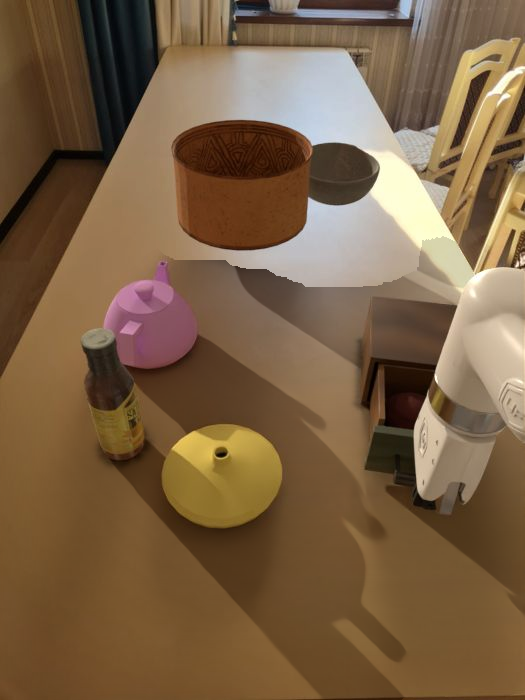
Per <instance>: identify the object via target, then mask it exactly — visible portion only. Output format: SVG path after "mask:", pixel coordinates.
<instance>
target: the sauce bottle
mask: <svg viewBox="0 0 525 700" xmlns="http://www.w3.org/2000/svg"><path fill="white" fill-rule="evenodd" d="M80 345H81V349H82V352H83V353H84V354H85V357H86V361H87V369H88V370H87V372H86V374H85V377H84V380H83V385H84V390H85V393H86V400H87V404H88V407H89V411H90V414H91V418H92V421H93V424H94V425H93V426H94V428H95V432H96V435H97V438H98V441H99V444H100V445H99V446H100V447H101V449H102V451H103V453H104V454H105V455H106V456H107V457H108V458H109V459H111V460H114V461H126V460H130V459H133V458H134V457H136V456H137V455H138V454H139V453H140V452H141V451H142V450H143V447H144V446H145V441H146V438H145V436H146V435H145V433H146V432H145V428H144V422H143V417H142V412H141V408H140V402H139V397H138V393H137V388H136V383H135V378H134V377H133V375H132V374H131V372H129V370H128V369H127V368H126V366H125V365H124V364H122V362H121V361H120V358H119V356H118V352H117V340H116V337H115V334H114V333H113V332H112V331H111V330H108V329H105V328H104V327H98V328H94V329H90V330H88V331H87V332H85V333H84V334H83V335H82V337H81V339H80Z"/></svg>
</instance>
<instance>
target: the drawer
mask: <svg viewBox="0 0 525 700" xmlns="http://www.w3.org/2000/svg"><path fill="white" fill-rule="evenodd" d="M435 370H436V369H433V368H424V367H416V366H407V365H399V364H391V363H382V362H378V366H377V370H376V374H375V378H374V383H373V387H372V391H371V396H370V405H369V442H368V447H367V451H366V454H365V459H364V463H363V470H364V471H367V472H368V471H369V472H375V473H376V472H377V473H383V474H390V475H393V476H392V483H393V485H395V486H396V485H397V486H404V487H409V488H410V487H411V488H414V486H415V483H416V481H417V480H416V467H415V452H414V430H409V429H401V428H393V427H386V425H385V423H384V422H385V401H386V400H387V399H388V398H390V397H392V396H393V395H396V394H398V393H406V392H412V393H417V394H421V395H423V396H426V397H427V393H428V390H429V387H430V384H431V381H432V378H433V375H434V373H435Z"/></svg>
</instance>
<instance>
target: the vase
mask: <svg viewBox="0 0 525 700" xmlns="http://www.w3.org/2000/svg"><path fill="white" fill-rule="evenodd" d="M282 481H283V465H282V462H281V459H280V455H279V453H278V452H277V450H276V449H275V447H274V446H273V444H272V443H271V442H270V441H269V440H268V439H266V438H265V437H264V436H263V435H262V434H260V433H259V432H257V431H255V430H253V429H251V428H249V427H245V426H241V425H237V424H233V423H232V424H228V423H218V424H212V425H211V424H210V425H207V426H203V427H201V428H198V429H196V430H192V431H190V432H189V433H188V434H186V435H184V437H182V438H180V439H179V440H178V441H177V442H176V443H175V444H174V446H173V447H172V448H170V450H169V451H168V454H167V456H166V457H165V460H164V461H163V466H162V470H161V484H162V489H163V492H164V494H165V496H166V499H167V502H169V504H170V505H171V506H172V507H173V508H174V509H175V511H176V512H177V513H178V514H179V515H180V516H182V517H184V518H185V519H186V520H188V521H190V522H191V523H193V524H196V525H199V526H203V527H206V528H209V529H228V528H234V527H238V526H242V525H244V524H246V523H248V522H251V521H253V520H255V519H256V518H257V517H259V516H261V514H263V512H265V511H266V510H267V509H268V508H269V507H270V505H271V503H272V502H273V501H274V499H275V498H276V496H277V495H278V494H279V490H280V488H281V486H282V485H281V484H282Z"/></svg>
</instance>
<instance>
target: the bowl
mask: <svg viewBox="0 0 525 700" xmlns="http://www.w3.org/2000/svg"><path fill="white" fill-rule="evenodd" d="M312 147H313V150H312V158H311V162H310V173H309V191H308V199H311V200H312V201H314V202H316V203H319V204H321V205H322V204H323V205H327V206H337V207H338V206H347V205H351V204H354V203H356V202H359V201H360V200H362V199H363V198H364V197H366V195H368V194H369V193H370V192H371V190H373V187H374V186H375V184H376V182H377V181H378V177H379V176H380V175H379V174H380V170H381V165H380V163H379V161H378V160H377V159H376V158H375V156H373V155H372V154H369V153H368V152H366V151H364V150H363V149H362V148H360V147H358V146H356V145H354V144H349V143H344V142H336V141H335V142H334V141H333V142H321V143H316V144H314V145H313V144H312Z"/></svg>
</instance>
